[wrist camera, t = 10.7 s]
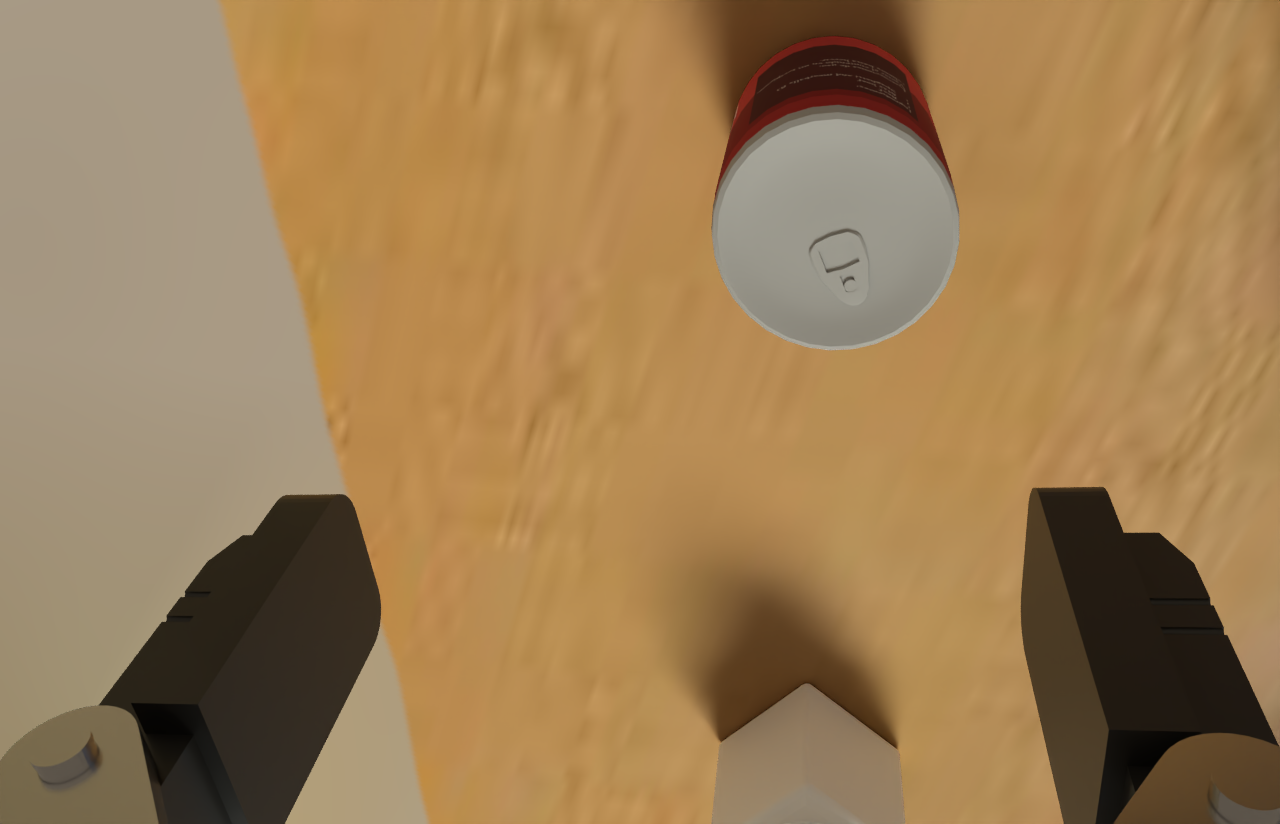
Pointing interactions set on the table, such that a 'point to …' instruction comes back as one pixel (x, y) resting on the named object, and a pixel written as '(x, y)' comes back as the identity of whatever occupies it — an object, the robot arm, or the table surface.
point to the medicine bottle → (807, 768)
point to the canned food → (834, 198)
